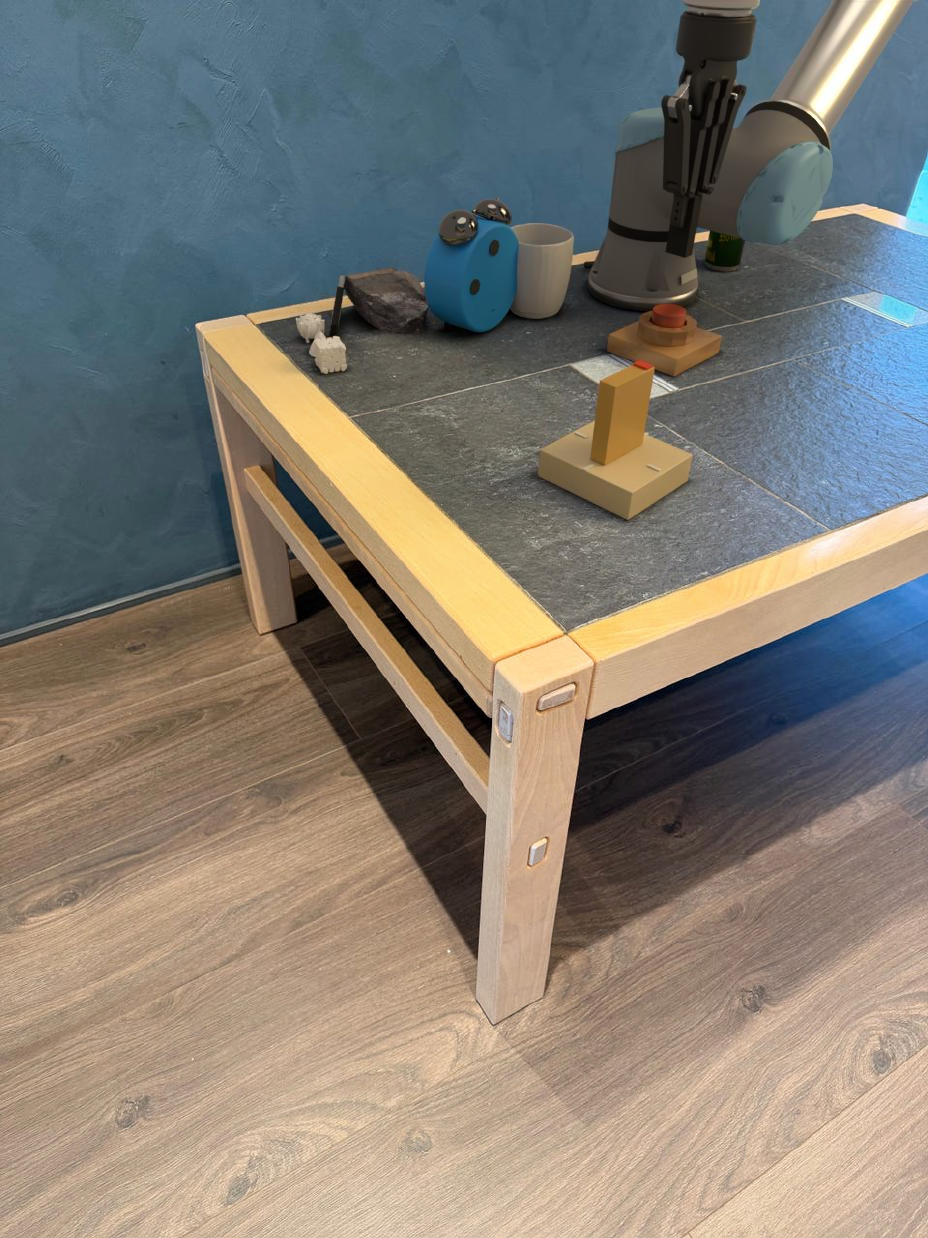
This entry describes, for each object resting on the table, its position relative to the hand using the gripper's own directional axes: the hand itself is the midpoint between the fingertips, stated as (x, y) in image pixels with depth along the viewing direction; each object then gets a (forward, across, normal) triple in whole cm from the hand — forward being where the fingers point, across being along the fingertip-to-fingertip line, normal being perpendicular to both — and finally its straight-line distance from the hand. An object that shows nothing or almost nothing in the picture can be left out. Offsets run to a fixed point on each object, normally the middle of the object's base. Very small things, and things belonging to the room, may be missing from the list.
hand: (678, 253), depth 105 cm
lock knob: (+9, -29, -14) cm, 33 cm away
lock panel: (+12, -29, -14) cm, 34 cm away
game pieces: (+12, -31, +29) cm, 44 cm away
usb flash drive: (+11, -24, +34) cm, 42 cm away
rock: (+13, -15, +29) cm, 35 cm away
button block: (+12, 0, 0) cm, 12 cm away
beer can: (+12, +33, +12) cm, 37 cm away
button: (+8, 0, 0) cm, 8 cm away
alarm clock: (+12, -11, +22) cm, 27 cm away
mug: (+12, -2, +22) cm, 25 cm away
